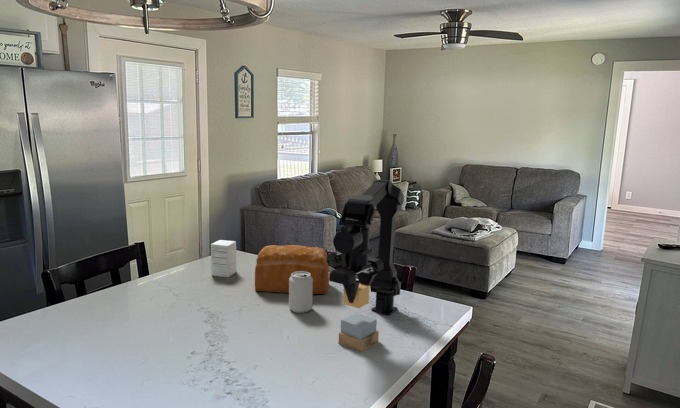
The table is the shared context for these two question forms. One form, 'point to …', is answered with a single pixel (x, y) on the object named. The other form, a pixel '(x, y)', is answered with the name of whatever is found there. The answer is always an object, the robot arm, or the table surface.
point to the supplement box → (223, 258)
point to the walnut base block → (358, 341)
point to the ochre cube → (359, 297)
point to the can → (300, 291)
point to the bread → (290, 267)
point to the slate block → (358, 325)
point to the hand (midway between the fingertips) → (356, 300)
